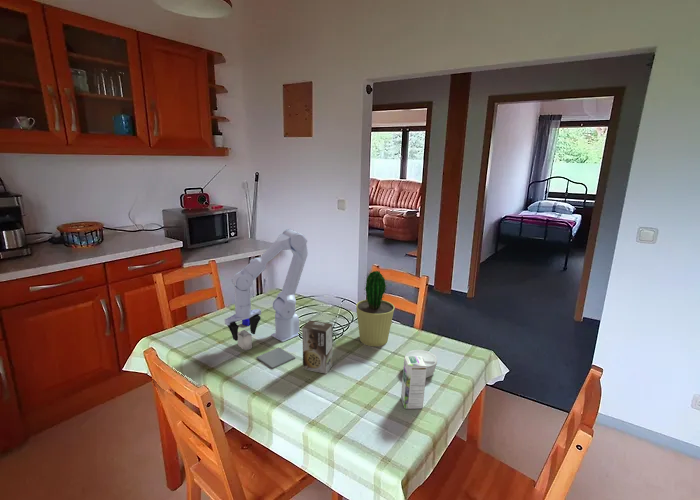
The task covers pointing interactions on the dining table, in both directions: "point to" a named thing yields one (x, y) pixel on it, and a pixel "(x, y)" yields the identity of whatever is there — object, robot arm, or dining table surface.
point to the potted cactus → (374, 312)
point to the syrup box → (413, 382)
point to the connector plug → (244, 340)
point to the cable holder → (246, 322)
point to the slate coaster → (275, 358)
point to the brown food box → (317, 346)
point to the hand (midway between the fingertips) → (244, 336)
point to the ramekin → (428, 358)
